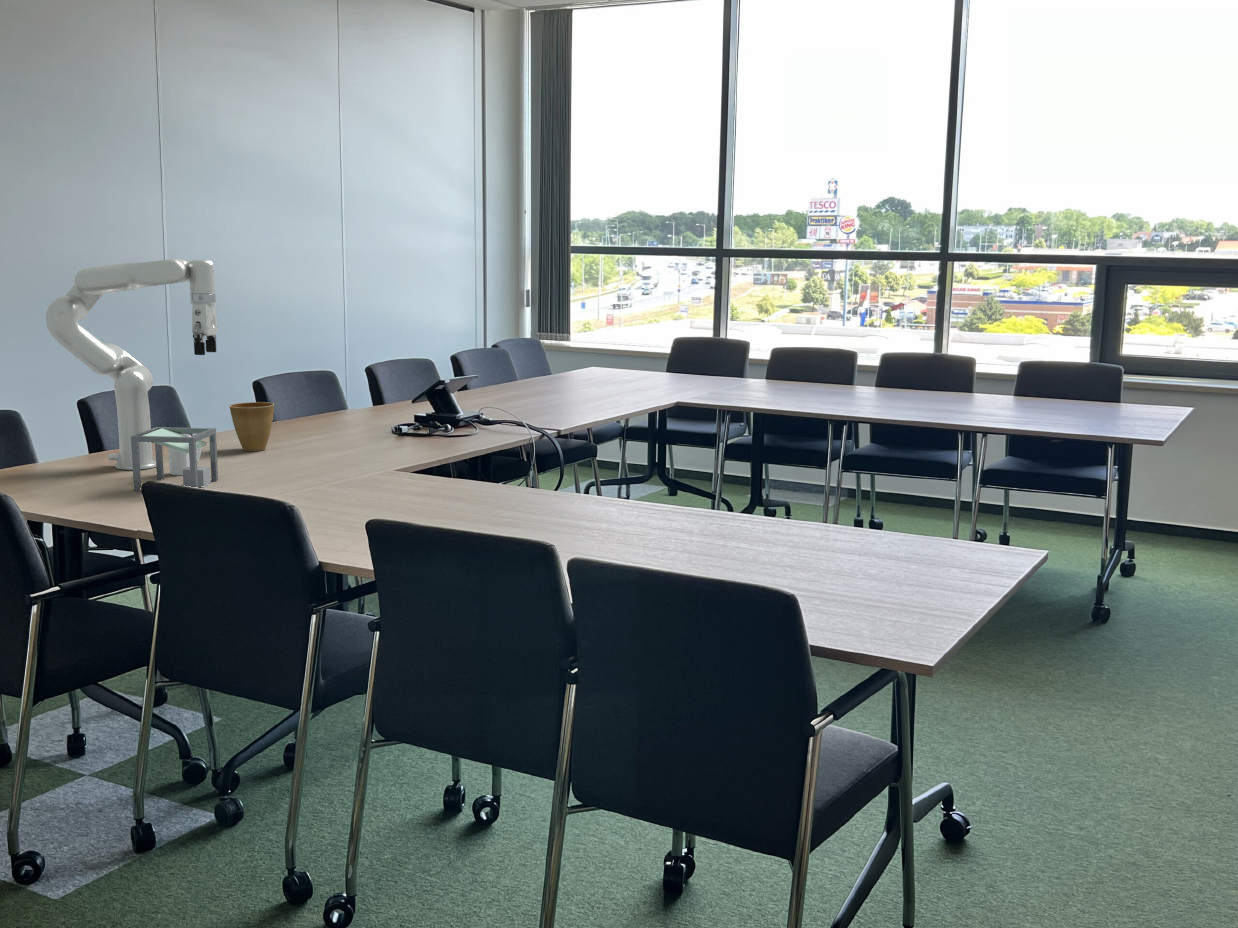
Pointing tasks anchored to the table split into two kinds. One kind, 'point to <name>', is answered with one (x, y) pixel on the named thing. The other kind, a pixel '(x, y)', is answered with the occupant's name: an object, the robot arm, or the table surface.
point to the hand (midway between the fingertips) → (205, 353)
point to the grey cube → (202, 475)
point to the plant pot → (252, 424)
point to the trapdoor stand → (192, 440)
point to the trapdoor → (177, 446)
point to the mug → (180, 460)
